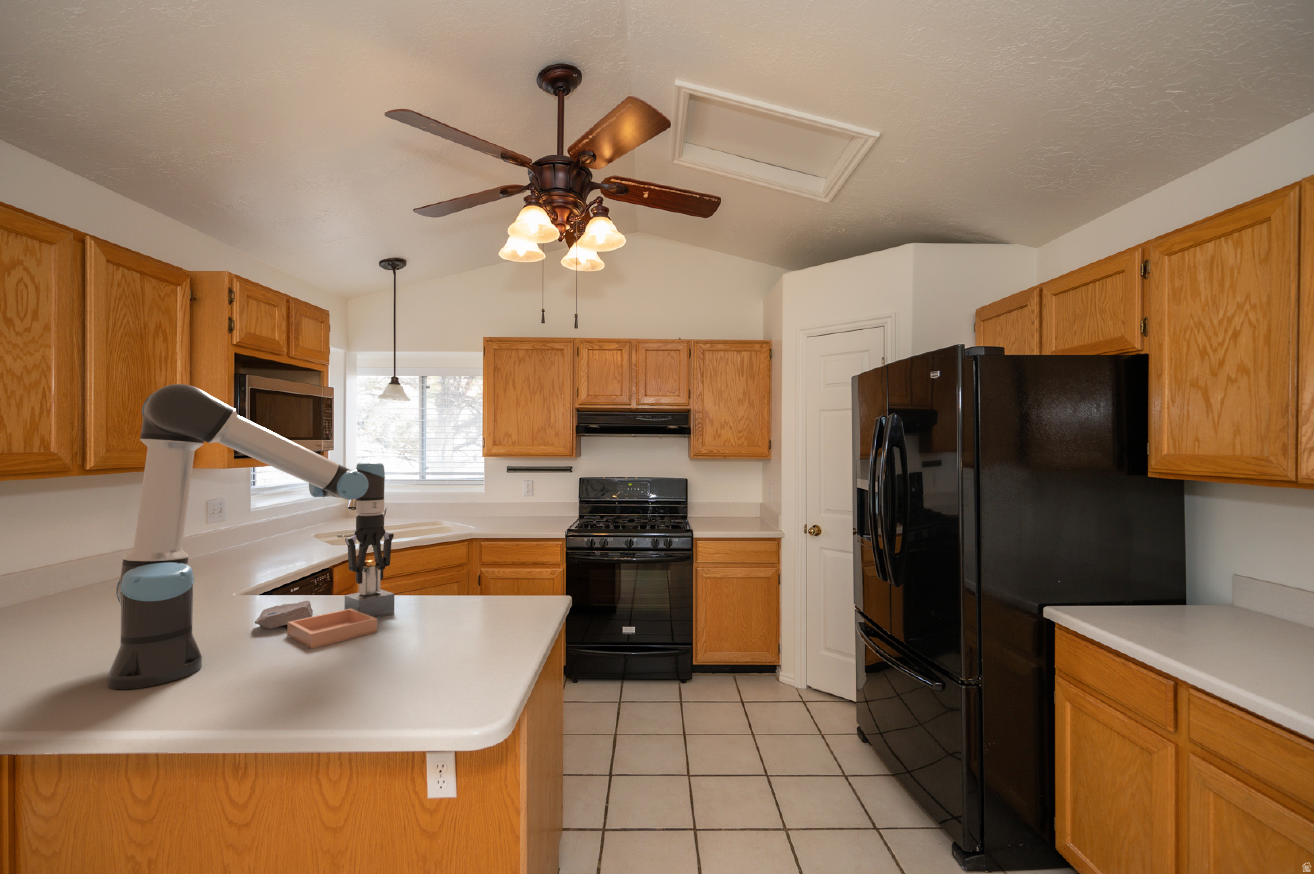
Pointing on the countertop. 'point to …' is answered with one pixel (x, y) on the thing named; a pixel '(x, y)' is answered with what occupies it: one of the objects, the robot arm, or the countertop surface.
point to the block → (371, 603)
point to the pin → (370, 577)
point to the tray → (331, 627)
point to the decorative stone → (284, 614)
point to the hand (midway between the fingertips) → (369, 592)
